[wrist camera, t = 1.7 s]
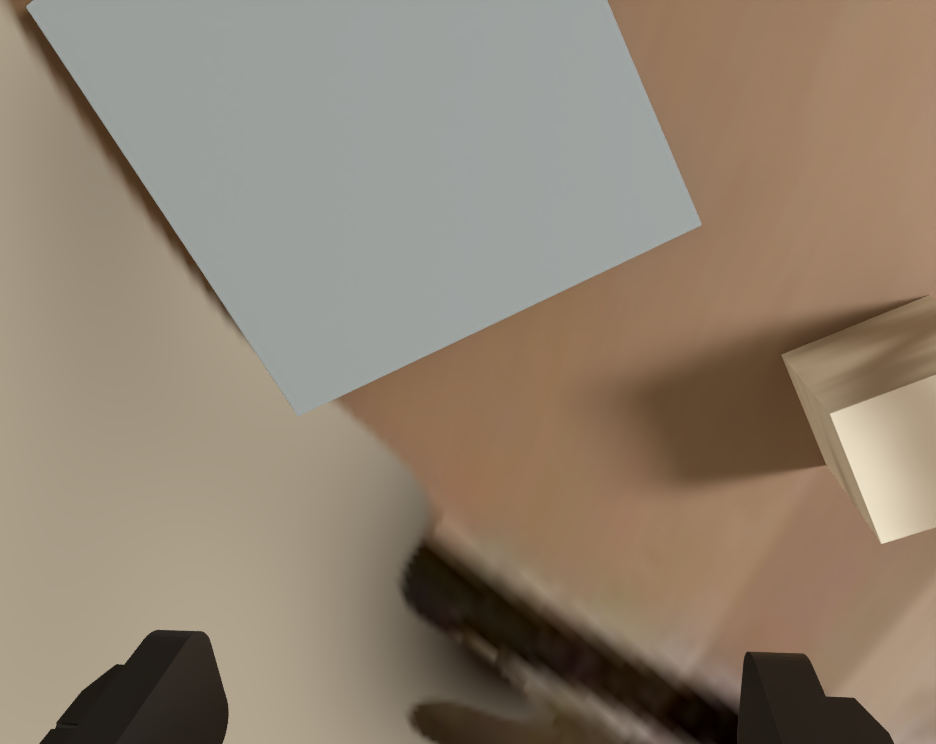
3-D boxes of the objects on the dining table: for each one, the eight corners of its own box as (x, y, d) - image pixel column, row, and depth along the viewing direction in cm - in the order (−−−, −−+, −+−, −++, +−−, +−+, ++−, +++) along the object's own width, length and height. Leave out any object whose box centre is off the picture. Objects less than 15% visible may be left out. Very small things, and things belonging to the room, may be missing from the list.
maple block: (928, 294, 28) (1017, 344, 22) (967, 414, 29) (1059, 488, 24) (780, 353, 30) (829, 413, 24) (825, 464, 31) (881, 543, 26)
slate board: (464, -329, 22) (460, -347, 21) (697, 220, 28) (701, 224, 27) (43, 9, 28) (25, 6, 27) (305, 407, 34) (298, 416, 33)
